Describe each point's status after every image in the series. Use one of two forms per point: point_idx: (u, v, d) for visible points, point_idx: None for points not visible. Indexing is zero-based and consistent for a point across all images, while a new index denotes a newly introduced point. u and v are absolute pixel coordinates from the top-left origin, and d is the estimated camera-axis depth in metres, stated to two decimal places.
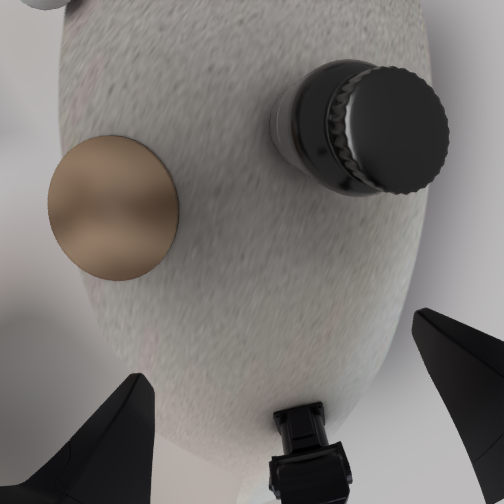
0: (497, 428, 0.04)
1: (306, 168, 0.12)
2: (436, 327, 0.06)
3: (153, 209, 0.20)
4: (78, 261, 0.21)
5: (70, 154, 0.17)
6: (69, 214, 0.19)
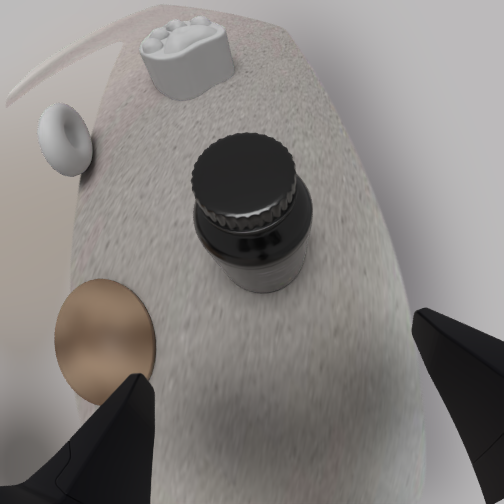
0: (496, 428, 0.04)
1: (209, 251, 0.15)
2: (436, 327, 0.06)
3: (133, 340, 0.21)
4: (73, 384, 0.20)
5: (75, 292, 0.23)
6: (70, 341, 0.22)
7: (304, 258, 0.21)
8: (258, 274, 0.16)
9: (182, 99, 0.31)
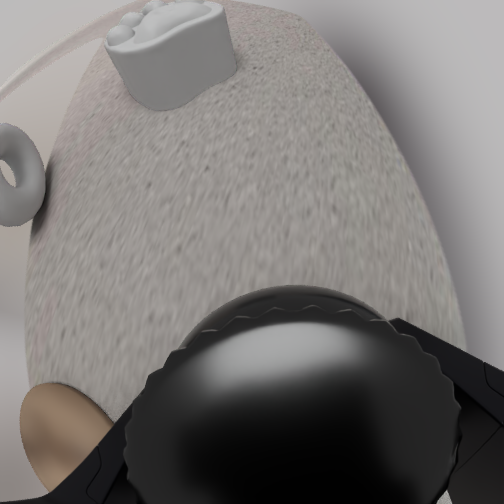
0: (467, 449, 0.04)
1: None
2: None
3: None
4: None
5: (32, 392, 0.14)
6: (38, 448, 0.12)
7: None
8: None
9: (163, 109, 0.22)
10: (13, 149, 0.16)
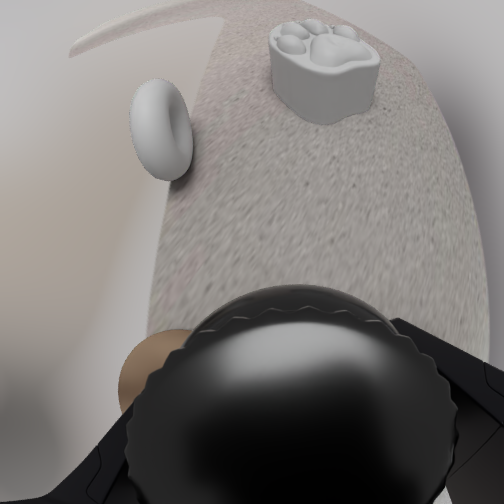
0: (467, 449, 0.04)
1: None
2: None
3: None
4: None
5: (157, 336, 0.21)
6: None
7: None
8: None
9: (313, 121, 0.27)
10: (172, 108, 0.23)
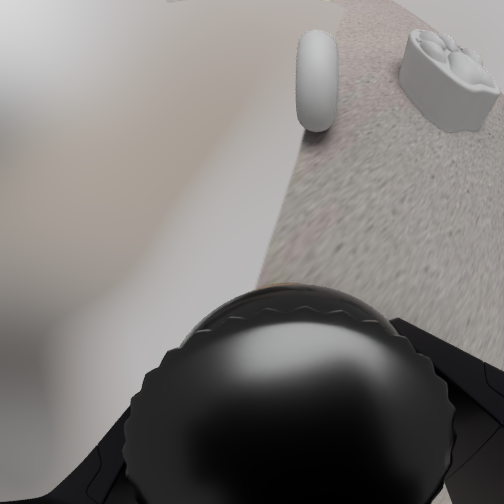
0: (467, 449, 0.04)
1: None
2: None
3: None
4: None
5: None
6: None
7: None
8: None
9: (437, 125, 0.24)
10: None
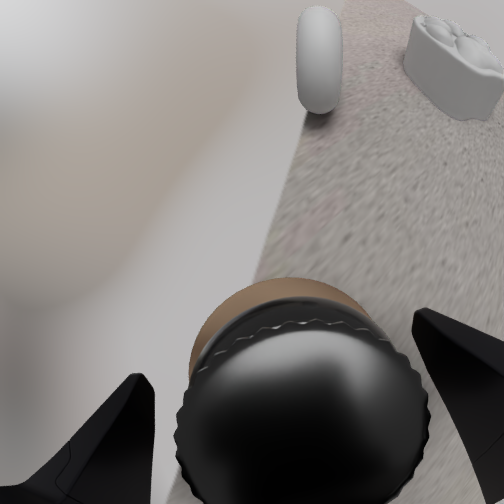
0: (497, 428, 0.04)
1: None
2: (436, 327, 0.06)
3: None
4: None
5: (275, 283, 0.17)
6: None
7: None
8: None
9: (446, 112, 0.21)
10: None
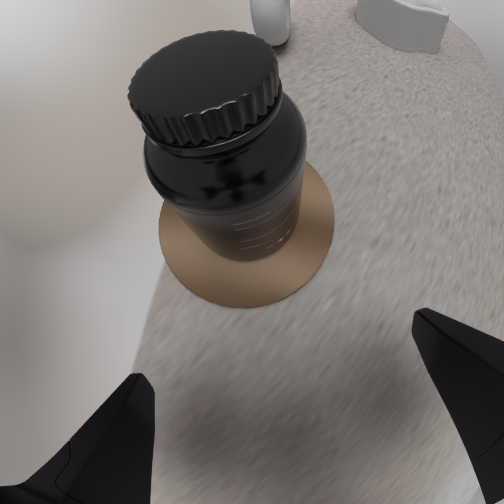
0: (497, 428, 0.04)
1: (161, 193, 0.10)
2: (436, 327, 0.06)
3: (305, 231, 0.18)
4: (171, 256, 0.18)
5: None
6: None
7: (298, 214, 0.16)
8: (232, 225, 0.11)
9: (391, 46, 0.23)
10: None
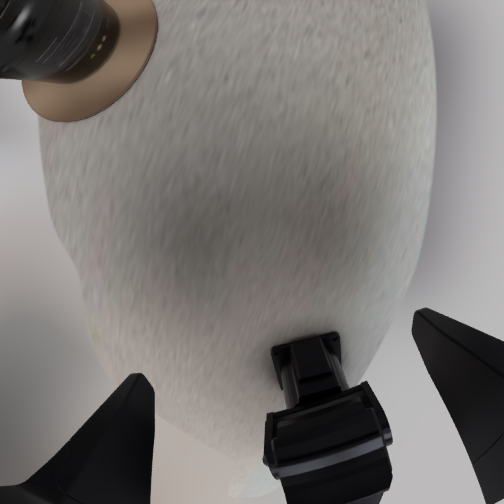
0: (497, 428, 0.04)
1: None
2: (436, 327, 0.06)
3: (130, 30, 0.13)
4: (38, 107, 0.14)
5: None
6: None
7: (111, 22, 0.11)
8: (37, 61, 0.08)
9: None
10: None
